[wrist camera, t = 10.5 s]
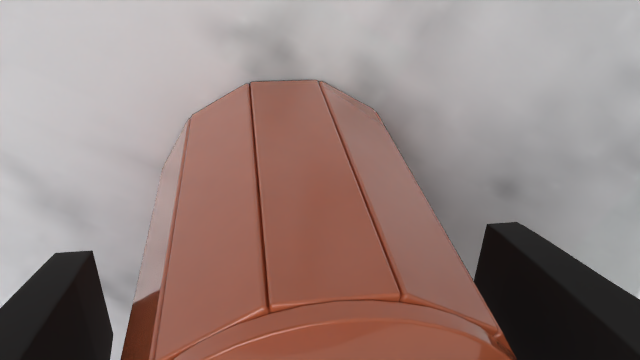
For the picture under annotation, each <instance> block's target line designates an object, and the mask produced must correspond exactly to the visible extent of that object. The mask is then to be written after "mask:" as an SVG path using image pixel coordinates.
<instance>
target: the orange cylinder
mask: <svg viewBox="0 0 640 360" xmlns="http://www.w3.org/2000/svg"><path fill="white" fill-rule="evenodd" d="M121 360H517V358H516V356H515V354H514V352H513V351H512V349H511V347H510V345H509V343H508V341H507V339H506V337H505V335H504V333H503V331H502V330H501V328H500V326H499V324H498V323H497V321H496V319H495V318H494V316H493V314H492V312H491V311H490V309H489V307H488V305H487V304H486V302H485V300H484V298H483V297H482V295H481V293H480V291H479V290H478V288H477V286H476V284H475V283H474V281H473V279H472V277H471V276H470V274H469V272H468V270H467V269H466V267H465V265H464V263H463V262H462V260H461V258H460V256H459V255H458V253H457V251H456V249H455V248H454V246H453V244H452V242H451V241H450V239H449V237H448V235H447V234H446V232H445V230H444V229H443V227H442V225H441V223H440V222H439V220H438V218H437V216H436V215H435V213H434V211H433V209H432V208H431V206H430V204H429V202H428V201H427V199H426V197H425V195H424V194H423V192H422V190H421V188H420V187H419V185H418V183H417V181H416V180H415V178H414V176H413V174H412V173H411V171H410V169H409V167H408V166H407V164H406V162H405V160H404V159H403V157H402V155H401V153H400V152H399V150H398V148H397V146H396V145H395V143H394V141H393V140H392V138H391V136H390V134H389V133H388V131H387V129H386V127H385V126H384V124H383V122H382V120H381V119H380V117H379V115H378V113H377V112H375V111H374V109H373V108H371V107H369V106H367V105H365V104H363V103H361V102H360V101H358V100H356V99H354V98H352V97H350V96H348V95H347V94H345V93H343V92H341V91H339V90H337V89H335V88H333V87H332V86H330V85H328V84H326V83H324V82H322V81H320V82H319V83H318V81H317V80H299V81H263V82H251V83H250V85H249V84H248V83H247V84H244V85H243V86H241V87H239V88H238V89H236V90H234V91H232V92H231V93H229V94H227V95H226V96H224V97H222V98H220V99H219V100H217V101H215V102H214V103H212V104H210V105H209V106H207V107H205V108H203V109H202V110H200V111H198V112H197V113H195V114H193V115H192V116H191V119H188V120H187V122H186V124H185V126H184V128H183V130H182V132H181V134H180V136H179V137H178V139H177V141H176V143H175V145H174V147H173V149H172V151H171V153H170V155H169V157H168V159H167V161H166V162H165V164H164V166H163V168H162V172H161V177H160V182H159V186H158V191H157V195H156V200H155V204H154V209H153V214H152V218H151V223H150V227H149V232H148V236H147V241H146V246H145V250H144V255H143V259H142V264H141V269H140V273H139V278H138V282H137V287H136V291H135V296H134V301H133V305H132V310H131V314H130V319H129V323H128V328H127V333H126V337H125V342H124V346H123V351H122V355H121Z"/></svg>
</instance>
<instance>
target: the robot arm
mask: <svg viewBox="0 0 640 360" xmlns="http://www.w3.org/2000/svg"><path fill="white" fill-rule="evenodd" d="M474 283H475V284H476V286H477V288H478V290H479V291H480V293H481V295H482V297H483V298H484V300H485V302H486V304H487V305H488V307H489V309H490V311H491V312H492V314H493V316H494V318H495V319H496V321H497V323H498V324H499V326H500V328H501V330H502V331H503V333H504V335H505V337H506V339H507V341H508V343H509V345H510V347H511V349H512V351H513V352H514V354H515V356H516V358H517V360H640V299H638V298H636V297H635V296H633V295H631V294H630V293H628V292H627V291H625V290H623V289H622V288H620V287H619V286H617V285H615V284H614V283H612V282H611V281H609V280H608V279H606V278H604V277H603V276H601V275H600V274H598V273H597V272H595V271H594V270H592V269H591V268H589V267H587V266H586V265H584V264H583V263H581V262H580V261H578V260H577V259H575V258H574V257H572V256H571V255H569V254H568V253H566V252H564V251H563V250H561V249H560V248H558V247H557V246H555V245H554V244H552V243H551V242H549V241H548V240H546V239H544V238H543V237H541V236H540V235H538V234H536V233H535V232H533V231H532V230H530V229H528V228H527V227H525V226H523V225H521V224H520V223H518V222H511V223H496V224H487V226H486V230H485V234H484V239H483V243H482V248H481V252H480V256H479V261H478V265H477V269H476V274H475V278H474ZM112 341H113V331H112V327H111V323H110V319H109V315H108V311H107V307H106V303H105V299H104V295H103V291H102V287H101V283H100V279H99V275H98V271H97V267H96V263H95V259H94V255H93V251H79V252H64V253H55V254H54V255H53V256H52V257H51V258H50V259H49V260H48V261H47V262H46V263H45V264H44V265H43V266H42V267H41V268H40V269H39V270H38V271H37V272H36V273H35V274H34V275H33V276H32V277H31V278H30V279H29V280H28V281H27V282H26V283H25V284H24V285H23V286H22V287H21V288H20V289H19V290H18V291H17V292H16V293H15V294H14V295H13V296H12V297H11V298H10V299H9V300H8V301H7V302H6V303H5V304H4V305H3V306H2V307H1V308H0V360H110V355H111V348H112Z"/></svg>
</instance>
